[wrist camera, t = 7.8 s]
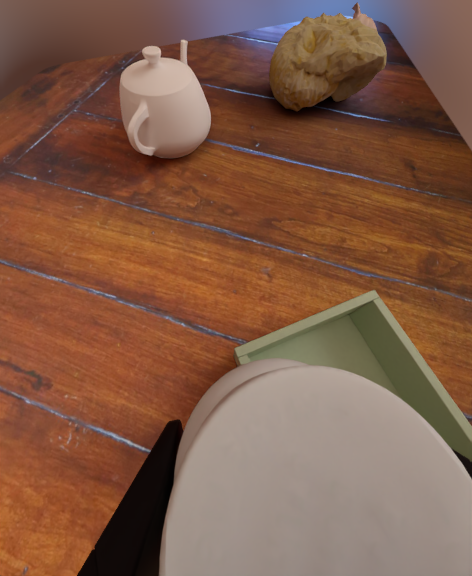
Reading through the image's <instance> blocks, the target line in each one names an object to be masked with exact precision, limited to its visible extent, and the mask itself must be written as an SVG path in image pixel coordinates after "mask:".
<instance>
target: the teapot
mask: <svg viewBox="0 0 472 576" xmlns="http://www.w3.org/2000/svg"><path fill="white" fill-rule="evenodd" d="M187 44H188V41H185V40H181V58H180V61H178V60H175V59H171V58H160V56H161V50H160V48H158V47H156V46H148V47H145V48H144V49H143V50H142V54H143V56H144V57H145V58H146V59H145V60H141V61H138V62H136V63H133V64H131V65H130V66H128V67H127V68H126V69H125V70H124V71H123V73H122V75H121V80H120V103H121V112H122V119H123V124H124V128H125V130H126V132H127V134H128V139H129V141H130V143H131V145H132V147H133V148H134V149H135V150H136V151H138V152H140V153H142V154H147V155H150V156H152V155H154V156H157V157H160V158H178V157H182V156H185V155H188V154H190V153H192V152H193V151H194V150H195V149H197V147H198V146H199V145H200V144H201V143H202V142H203V141H204V140H205V138H206V137H207V135H208V133H209V130H210V125H211V114H210V110H209V106H208V104H207V101H206V98H205V96H204V93H203V91H202V88H201V86H200V84H199V82H198V80H197V78H196V76H195V74H194V73H193V71H192V70H191V68H190V67H189V66H188V65H187Z"/></svg>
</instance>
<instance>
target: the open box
mask: <svg viewBox="0 0 472 576" xmlns="http://www.w3.org/2000/svg"><path fill="white" fill-rule="evenodd" d="M234 358H235V361H236V364H237V366H240V365H243V364H246V363H249V362H252V361H256V360H261V359H270V358H282V359H290V360H295V361H299V362H302V363H306V364H308V365H319V366H327V367H332V368H337V369H341V370H345V371H348V372H351V373H354V374H357V375H359V376H362V377H364V378H366V379H368V380H370V381H372V382H374V383H376V384H378V385H380V386H382V387H384V388H386V389H387V390H389V391H390V392H392V393H393V394H394V395H396V396H397V397H399V398H400V399H402V400H403V401H404V402H406V403H407V404H408V405H409V406H411V407H412V408H413V409H414V410H415V411H416V412H417V413H419V414H420V415H421V416H422V417H423V418H424V419H425V420H426V421H427V422H428V423H429V424H430V425H431V426H432V427H433V428H434V429H435V431H436V432H437V433H438V434H439V435H440V436H441V437H442V439H443V440H444V441H445V442H446V443H447V444H448V446H449V447H450V448H452V449H454V450H455V451H457V452H458V453H460V454H462V455H463V456H465V457H466V458H468V459H469V460H470V461H472V426H471V425H470V424H469V422H468V421H467V419H466V418H465V416H464V415H463V414H462V412H461V411H460V409H459V408H458V407H457V405H456V404H455V402H454V401H453V400H452V398H451V397H450V395H449V394H448V393H447V391H446V390H445V388H444V387H443V386H442V384H441V383H440V381H439V380H438V378H437V377H436V376H435V374H434V373H433V371H432V370H431V369H430V367H429V366H428V364H427V363H426V362H425V360H424V359H423V357H422V356H421V355H420V353H419V352H418V350H417V349H416V347H415V346H414V345H413V343H412V342H411V340H410V339H409V338H408V336H407V335H406V333H405V332H404V331H403V329H402V328H401V326H400V325H399V324H398V322H397V321H396V319H395V318H394V317H393V315H392V314H391V312H390V311H389V309H388V308H387V307H386V305H385V304H384V302H383V301H382V300H381V298H379V295H378V294H377V293H376V291H375V290H372V291H370V292H367V293H365V294H363V295H360V296H358V297H355V298H353V299H351V300H348V301H346V302H344V303H341V304H339V305H336V306H334V307H332V308H329V309H327V310H324V311H322V312H320V313H317V314H315V315H313V316H310V317H308V318H305V319H303V320H301V321H298V322H296V323H293V324H291V325H289V326H286V327H284V328H282V329H279V330H277V331H274V332H272V333H270V334H267V335H265V336H262V337H260V338H258V339H255V340H253V341H251V342H248V343H246V344H243V345H241V346H239V347H236V348H234Z"/></svg>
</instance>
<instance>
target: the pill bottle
mask: <svg viewBox="0 0 472 576" xmlns="http://www.w3.org/2000/svg"><path fill="white" fill-rule="evenodd" d="M159 576H472V479H471V477H470V476H469V474H468V472H467V471H466V469H465V467H464V466H463V464H462V463H461V461H460V460H459V459H458V457H457V456H456V455H455V453H454V452H453V451H452V449H451V448H450V447H449V446H448V444H447V443H446V442H445V441H444V440H443V439H442V437H441V436H440V435H439V434H438V433H437V432H436V431H435V429H434V428H433V427H432V426H431V425H430V424H429V423H428V422H427V421H426V420H425V419H424V418H423V417H422V416H421V415H420V414H419V413H417V412H416V411H415V410H414V409H413V408H412V407H411V406H409V405H408V404H407V403H406V402H404V401H403V400H402V399H400V398H399V397H397V396H396V395H394V394H393V393H392V392H390V391H389V390H387V389H386V388H384V387H382V386H380V385H378V384H376V383H374V382H372V381H370V380H368V379H366V378H364V377H362V376H359V375H357V374H354V373H351V372H348V371H345V370H341V369H337V368H332V367H327V366H319V365H308V364H306V363H302V362H299V361H295V360H290V359H282V358H270V359H261V360H256V361H252V362H249V363H246V364H243V365H240V366H238V367H236V368H234V369H233V370H231V371H229V372H228V373H226V374H225V375H224V376H222V377H221V378H220V379H219V380H218V381H216V382H215V383H214V384H213V385H212V386H211V387H210V388H209V389H208V390H207V391H206V393H205V394H204V395H203V397H202V398H201V399H200V401H199V402H198V403H197V405H196V407H195V408H194V410H193V412H192V414H191V416H190V417H189V420H188V422H187V424H186V426H185V429H184V432H183V435H182V438H181V441H180V444H179V448H178V453H177V457H176V464H175V471H174V485H173V488H172V492H171V495H170V499H169V503H168V508H167V512H166V516H165V522H164V527H163V532H162V541H161V550H160V567H159Z"/></svg>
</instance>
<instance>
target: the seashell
mask: <svg viewBox="0 0 472 576" xmlns="http://www.w3.org/2000/svg"><path fill="white" fill-rule="evenodd" d="M386 56H387V54H386V48H385V45H384V43H383V41H382V39H381V37H380V36H379V35H378V32H377V29H373V28H370V27H367V26H366V25H364V24H362V23H361V21H359V20H357V19H353V20H352V19H351V18H349V19H347V18H346V17H344V16H343V15H342V14H340V13H339V14H338V15H336V16H326V15H325V14H324V13H323V14H322V15H321V16H320V17H317V18H315V19H313V18H309V17H305V18H304V19H303V20H302V22H301V23H300V24H299V25H297V26H294V27H292V28H291V29H289V30H288V31H287V32H286V33H285V34H284V36H283V37H282V38H281V40H280V41H279V43H278V45H277V47H276V49H275V51H274V54H273V56H272V59H271V65H270V73H269V77H270V87H271V90H272V92H273V95H274V97H275V99H276V100H277V101H278V102H279V103H280V104H282V106H284V107H285V108H286V109H291V110H295V111H299V110H300V109H301V108H303V107H311V106H314V105H316V104H317V103H318V102H321V101H323V100H325V99H326V98H327V97H329V96H331V97H332V98H333V100H334V101H342V100H345V99H347V98H349V97H350V96H351V95H353V94H355V93H357V92H358V91H360V90H361V89H363V88H364V87H365V86H367V85H368V84H369V82H371V81H372V79H373V78H374V76H375V75H376V74H377V73H378V72H380V71H381V70H383V69H384V67H385V64H386Z"/></svg>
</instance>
